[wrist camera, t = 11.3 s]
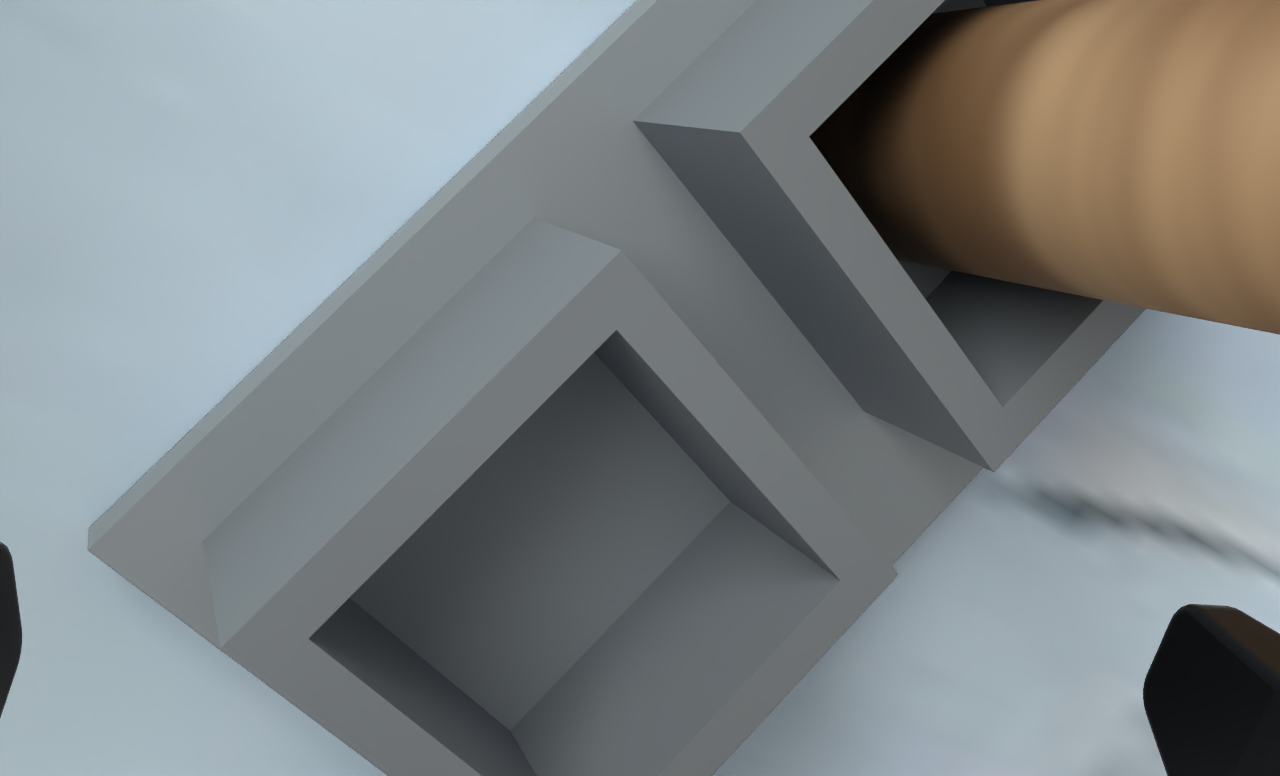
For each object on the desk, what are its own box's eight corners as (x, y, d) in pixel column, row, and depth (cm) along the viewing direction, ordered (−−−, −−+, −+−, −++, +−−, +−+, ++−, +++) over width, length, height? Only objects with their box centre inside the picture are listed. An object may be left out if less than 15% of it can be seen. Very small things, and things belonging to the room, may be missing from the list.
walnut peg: (831, 292, 23) (1462, 456, 12) (765, 66, 21) (1419, 20, 10) (1012, 205, 24) (1735, 283, 13) (963, -16, 22) (1732, -132, 12)
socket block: (553, 881, 25) (647, 1058, 21) (88, 528, 20) (79, 663, 15) (1232, 157, 27) (1447, 174, 23) (981, -332, 22) (1198, -431, 18)
